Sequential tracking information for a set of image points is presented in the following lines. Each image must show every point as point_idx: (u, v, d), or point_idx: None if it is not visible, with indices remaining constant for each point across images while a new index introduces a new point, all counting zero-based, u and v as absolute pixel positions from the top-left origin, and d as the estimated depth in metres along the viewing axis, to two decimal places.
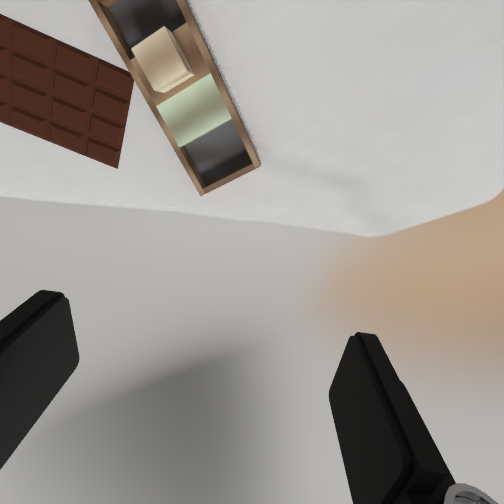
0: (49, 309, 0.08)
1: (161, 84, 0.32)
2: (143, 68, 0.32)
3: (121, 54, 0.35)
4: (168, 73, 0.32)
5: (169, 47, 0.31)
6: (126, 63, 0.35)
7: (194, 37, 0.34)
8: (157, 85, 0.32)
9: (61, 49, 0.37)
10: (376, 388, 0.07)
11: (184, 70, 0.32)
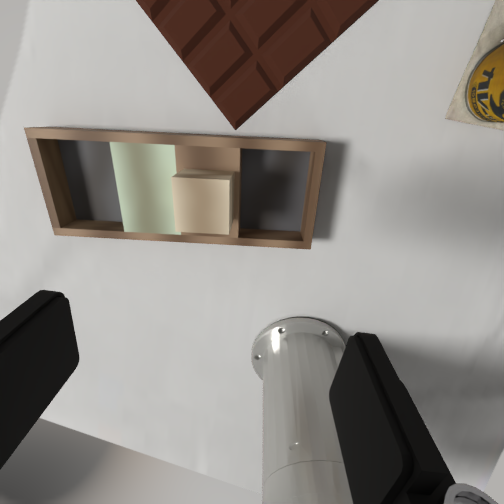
0: (49, 309, 0.08)
1: (173, 191, 0.22)
2: (201, 180, 0.21)
3: (251, 141, 0.24)
4: (182, 209, 0.22)
5: (207, 227, 0.23)
6: (239, 140, 0.24)
7: (221, 237, 0.28)
8: (175, 185, 0.22)
9: (316, 41, 0.23)
10: (376, 388, 0.07)
11: (176, 229, 0.23)
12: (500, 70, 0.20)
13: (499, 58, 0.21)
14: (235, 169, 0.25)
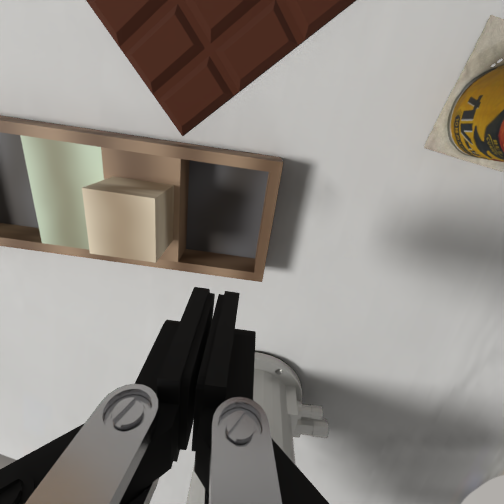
0: (209, 303, 0.09)
1: (85, 205, 0.18)
2: (120, 196, 0.17)
3: (194, 152, 0.20)
4: (97, 227, 0.18)
5: (128, 251, 0.19)
6: (180, 149, 0.20)
7: (158, 260, 0.24)
8: (87, 198, 0.17)
9: (279, 41, 0.19)
10: (210, 331, 0.08)
11: (91, 250, 0.19)
12: (488, 98, 0.17)
13: (487, 85, 0.18)
14: (175, 183, 0.21)
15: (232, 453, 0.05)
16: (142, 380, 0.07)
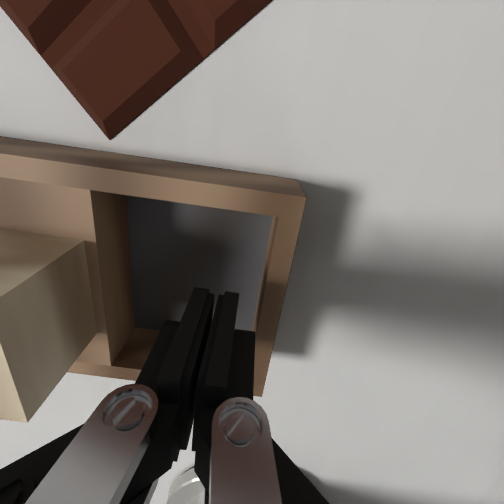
0: (209, 303, 0.09)
1: None
2: None
3: (117, 176, 0.09)
4: None
5: None
6: (85, 171, 0.09)
7: (75, 362, 0.13)
8: None
9: None
10: (210, 331, 0.08)
11: None
12: None
13: None
14: (86, 237, 0.10)
15: (232, 453, 0.05)
16: (142, 380, 0.07)
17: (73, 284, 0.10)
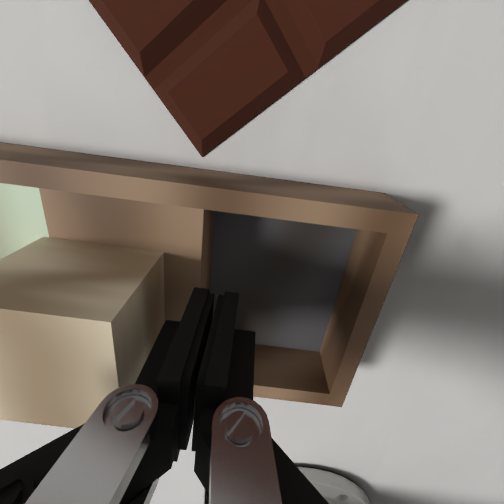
0: (209, 303, 0.09)
1: None
2: (24, 316, 0.07)
3: (232, 196, 0.09)
4: None
5: (63, 415, 0.09)
6: (202, 191, 0.09)
7: None
8: None
9: None
10: (210, 331, 0.08)
11: None
12: None
13: None
14: (192, 254, 0.10)
15: (232, 453, 0.05)
16: (142, 380, 0.07)
17: (155, 296, 0.10)
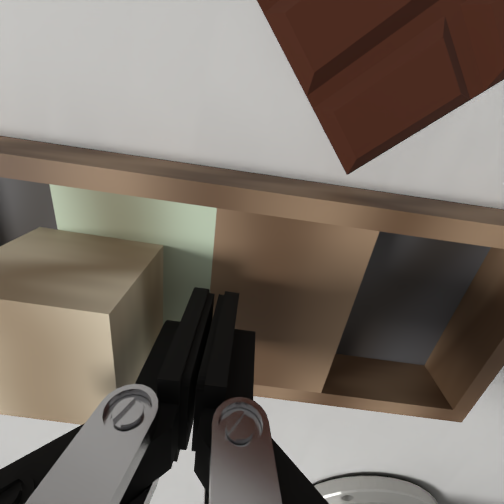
0: (209, 303, 0.09)
1: None
2: (19, 307, 0.07)
3: (413, 218, 0.09)
4: None
5: (58, 410, 0.08)
6: (383, 214, 0.09)
7: (286, 389, 0.13)
8: None
9: None
10: (210, 331, 0.08)
11: None
12: None
13: None
14: (354, 274, 0.10)
15: (232, 453, 0.05)
16: (142, 380, 0.07)
17: (154, 289, 0.10)
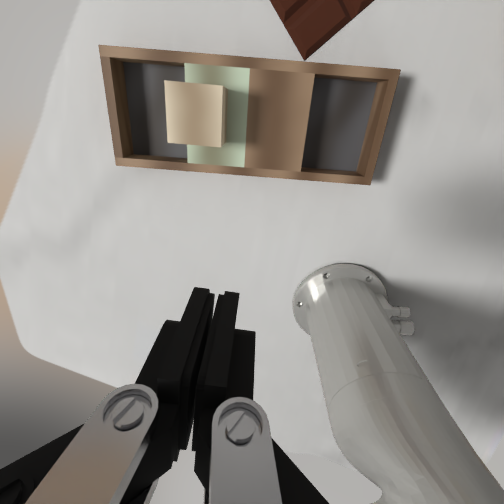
0: (209, 303, 0.09)
1: (166, 97, 0.22)
2: (194, 85, 0.21)
3: (327, 66, 0.24)
4: (174, 117, 0.23)
5: (199, 138, 0.23)
6: (315, 65, 0.24)
7: (284, 171, 0.28)
8: (168, 90, 0.22)
9: None
10: (210, 331, 0.08)
11: (168, 140, 0.23)
12: None
13: None
14: (307, 97, 0.25)
15: (232, 453, 0.05)
16: (142, 380, 0.07)
17: (226, 105, 0.25)
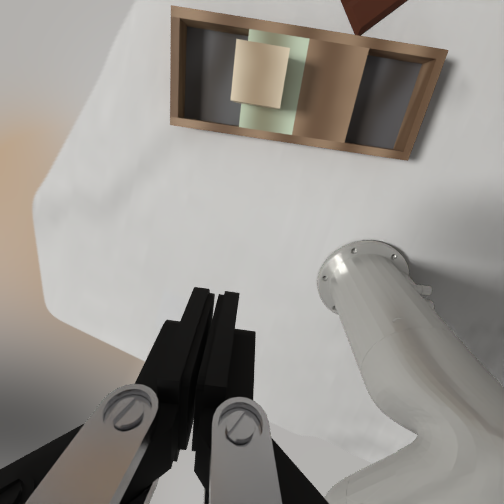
0: (209, 303, 0.09)
1: (236, 55, 0.24)
2: (264, 46, 0.23)
3: (381, 42, 0.26)
4: (240, 75, 0.24)
5: (261, 97, 0.25)
6: (370, 40, 0.26)
7: (328, 141, 0.30)
8: (238, 48, 0.23)
9: None
10: (210, 331, 0.08)
11: (231, 97, 0.25)
12: None
13: None
14: (360, 70, 0.27)
15: (232, 453, 0.05)
16: (142, 380, 0.07)
17: None
